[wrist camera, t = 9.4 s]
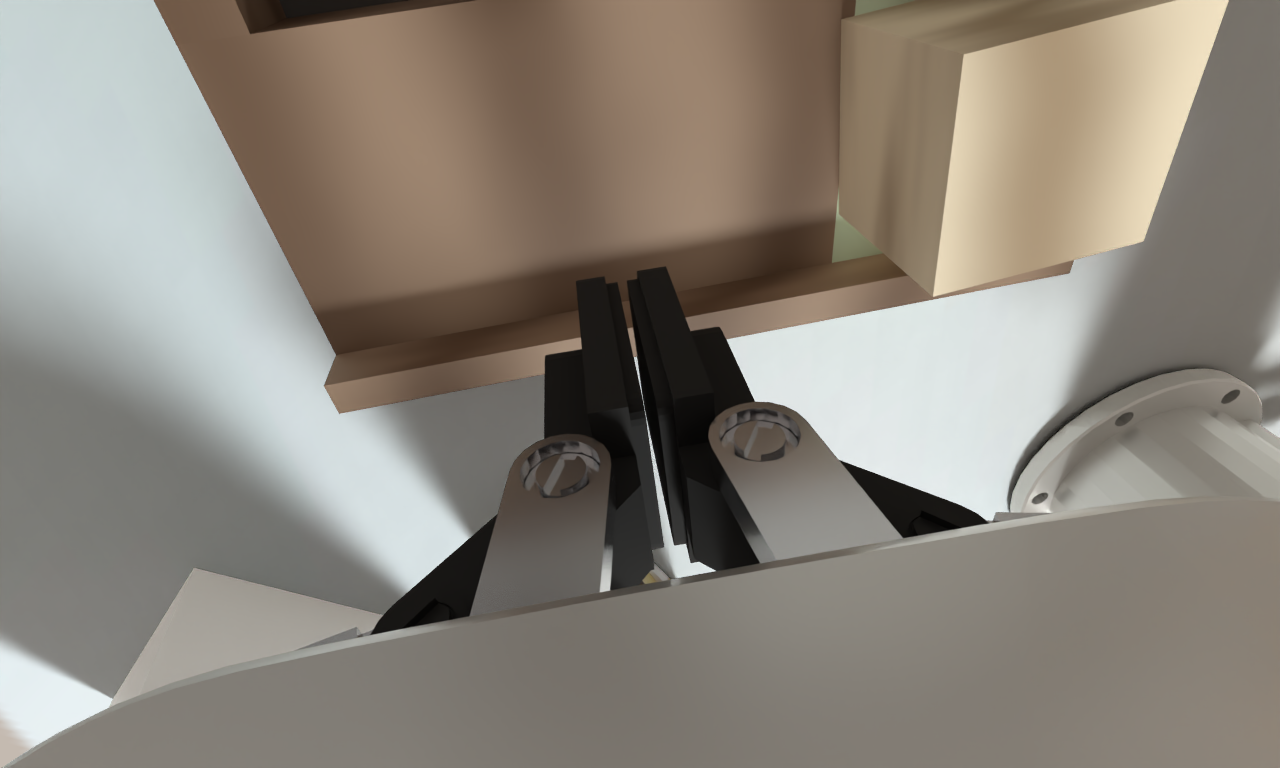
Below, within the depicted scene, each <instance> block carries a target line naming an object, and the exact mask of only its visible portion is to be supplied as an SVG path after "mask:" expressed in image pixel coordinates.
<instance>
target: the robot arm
mask: <svg viewBox="0 0 1280 768" xmlns="http://www.w3.org/2000/svg"><path fill="white" fill-rule="evenodd" d="M576 289H577V301H578V312H579V323H580V334H581V345H582V349H579V350H573V351H567V352H561V353H555V354H549V355H546V356H545V408H544V439H543V440H541V441H538V442H536V443H535V444H533V445H531V446H530V447H528V448H527V449H525V450H524V451H523V452H522V453H521V454H520V455H519V456H518V457H517V459H516V460H515V461H514V463H513V465H512V467H511V469H510V471H509V475H508V479H507V482H506V486H505V489H504V493H503V497H502V500H501V504H500V508H499V511H498V514H497V515H496V516H495V517H494V518H492V519H491V520H490V521H489V522H488V523H487V524H486V525H484V526H483V527H482V528H481V529H480V530H479V531H478V532H476V533H475V534H474V535H473V536H472V537H471V538H469V539H468V540H467V541H466V542H465V543H464V544H463V545H461V546H460V547H459V548H458V549H457V550H456V551H455V552H453V553H452V554H451V555H450V556H449V557H448V558H447V559H445V560H444V561H443V562H442V563H441V564H440V565H439V566H437V567H436V568H435V569H434V570H433V571H432V572H430V573H429V574H428V575H427V576H426V577H425V578H424V579H422V580H421V581H420V582H419V583H418V584H417V585H416V586H414V587H413V588H412V589H411V590H410V591H409V592H408V593H406V594H405V595H404V596H403V597H402V598H401V599H399V600H398V601H397V602H396V603H395V604H394V605H393V606H392V607H391V608H390V609H389V610H388V611H387V612H386V613H385V614H384V615H383V616H382V617H381V618H380V619H379V621H378V622H377V624H376V626H375V627H374V629H373V630H371V631H368V632H366V633H363V634H361V632H360V631H359V629H358V628H357V627H355V628H352V629H350V630H347V631H344V632H342V633H339V634H336V635H334V636H331V637H328V638H326V639H323V640H320V641H318V642H315V643H313V644H310V645H307V646H305V647H302V648H299V649H297V650H294V651H290V652H286V653H282V654H277V655H273V656H269V657H264V658H260V659H256V660H251V661H247V662H243V663H238V664H234V665H230V666H225V667H222V668H219V669H216V670H212V671H209V672H206V673H202V674H199V675H196V676H193V677H189V678H186V679H183V680H179V681H176V682H173V683H170V684H167V685H165V686H162V687H159V688H157V689H154V690H152V691H149V692H146V693H144V694H141V695H139V696H136V697H133V698H131V699H128V700H126V701H123V702H120V703H118V704H115V705H113V706H111V707H109V708H107V709H105V710H103V711H101V712H99V713H97V714H95V715H93V716H91V717H89V718H87V719H85V720H83V721H81V722H79V723H77V724H75V725H73V726H71V727H69V728H67V729H65V730H63V731H61V732H59V733H57V734H55V735H54V736H52V737H50V738H48V739H47V740H45V741H43V742H42V743H40V744H38V745H36V746H35V747H33V748H31V749H30V750H28V751H26V752H25V753H23V754H22V755H20V756H19V757H17V758H16V759H14V760H13V761H11V762H10V763H8V764H7V765H5V766H4V767H2V768H1280V438H1278V437H1277V436H1275V435H1274V434H1272V433H1271V432H1269V431H1268V430H1266V429H1265V428H1263V427H1262V426H1260V424H1261V421H1262V402H1261V400H1260V398H1259V396H1258V393H1257V392H1256V391H1255V390H1253V389H1252V388H1251V387H1250V386H1249V385H1247V384H1246V383H1244V382H1242V381H1241V380H1239V379H1238V378H1236V377H1234V376H1232V375H1230V374H1228V373H1226V372H1224V371H1219V370H1213V369H1208V368H1206V369H1186V370H1181V371H1176V372H1171V373H1166V374H1161V375H1158V376H1155V377H1152V378H1150V379H1147V380H1144V381H1141V382H1138V383H1135V384H1133V385H1131V386H1129V387H1127V388H1125V389H1123V390H1120V391H1118V392H1116V393H1114V394H1112V395H1110V396H1108V397H1107V398H1105V399H1103V400H1102V401H1100V402H1098V403H1097V404H1095V405H1093V406H1092V407H1090V408H1088V409H1087V410H1085V411H1084V412H1083V413H1081V414H1080V415H1078V416H1077V417H1076V418H1074V419H1073V420H1072V421H1070V422H1069V423H1067V424H1066V425H1065V426H1064V427H1063V428H1062V429H1060V430H1059V431H1058V432H1057V433H1056V434H1055V435H1054V436H1053V437H1052V438H1050V439H1049V440H1048V441H1047V442H1046V443H1045V444H1044V445H1043V447H1042V448H1041V449H1040V450H1039V451H1038V452H1037V453H1036V454H1035V456H1034V457H1033V458H1032V459H1031V460H1030V462H1029V463H1028V465H1027V466H1026V468H1025V469H1024V471H1023V472H1022V474H1021V475H1020V477H1019V479H1018V482H1017V484H1016V486H1015V488H1014V490H1013V494H1012V499H1011V504H1010V512H996V513H995V516H994V519H993V521H986V520H985V519H984V518H982V517H981V516H980V515H978V514H977V513H975V512H973V511H971V510H969V509H967V508H965V507H963V506H961V505H958V504H956V503H953V502H950V501H948V500H945V499H942V498H940V497H937V496H934V495H932V494H929V493H926V492H924V491H921V490H918V489H915V488H913V487H910V486H907V485H905V484H902V483H899V482H897V481H894V480H891V479H889V478H886V477H883V476H881V475H878V474H875V473H872V472H870V471H867V470H864V469H862V468H859V467H856V466H854V465H851V464H848V463H846V462H843V461H840V460H838V458H837V457H836V456H835V455H834V454H833V452H832V451H831V450H830V449H829V448H828V446H827V445H826V444H825V443H824V441H823V440H822V439H821V438H820V437H819V435H818V434H817V433H816V432H815V430H814V429H813V428H812V427H811V426H810V424H809V423H808V422H807V421H806V420H805V419H804V418H803V417H802V416H801V415H800V414H798V413H797V412H796V411H794V410H792V409H789V408H787V407H785V406H783V405H778V404H774V403H770V402H755V401H754V399H753V396H752V394H751V392H750V390H749V388H748V386H747V383H746V381H745V379H744V377H743V375H742V373H741V370H740V368H739V366H738V364H737V362H736V360H735V357H734V355H733V353H732V351H731V349H730V347H729V344H728V342H727V340H726V338H725V336H724V334H723V331H722V330H721V328H720V327H712V328H706V329H700V330H694V331H690V328H689V326H688V323H687V321H686V318H685V315H684V313H683V310H682V307H681V305H680V302H679V299H678V297H677V294H676V291H675V289H674V286H673V284H672V281H671V278H670V276H669V273H668V270H667V268H666V266H664V267H658V268H652V269H646V270H639V271H637V279H633V280H627V289H628V296H629V303H630V310H631V317H632V324H633V331H634V338H635V345H636V352H637V359H638V366H639V373H640V380H641V387H642V394H643V399H642V394H641V389H640V385H639V380H638V375H637V371H636V366H635V361H634V357H633V352H632V347H631V343H630V338H629V333H628V329H627V324H626V319H625V315H624V310H623V305H622V301H621V296H620V291H619V287H618V282H614V283H608V284H606V281H605V276H602V277H596V278H590V279H584V280H578V281H576ZM643 401H644V405H643ZM644 407H645V411H644ZM645 412H646V417H647V421H648V426H649V431H650V435H651V440H652V445H653V449H654V454H655V459H656V463H657V468H658V473H659V477H660V482H661V487H662V491H663V496H664V501H665V505H666V510H667V515H668V519H669V524H670V529H671V533H672V538H673V542H674V545H680V544H686V545H687V549H688V554H689V558H690V562H691V563H694V562H701V563H703V564H705V565H706V566H708V567H710V568H712V569H714V570H716V571H715V572H710V573H704V574H698V575H693V576H687V577H682V578H676V579H671V580H665V581H660V582H654V583H649V584H643V585H639V584H640V583H641V581H642V580H643V579H644V578H645V577H646V576H647V574H648V573H649V572H650V571H651V570H654V561H653V555H652V549H658V548H663V547H664V543H663V536H662V529H661V522H660V515H659V507H658V500H657V493H656V486H655V479H654V472H653V465H652V458H651V451H650V444H649V437H648V430H647V423H646V417H645Z"/></svg>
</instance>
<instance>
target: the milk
mask: <svg viewBox="0 0 1280 768" xmlns="http://www.w3.org/2000/svg"><path fill="white" fill-rule="evenodd" d="M382 616H383V615H381V614H377V613H373V612H369V611H365V610H361V609H357V608H353V607H349V606H345V605H341V604H337V603H333V602H329V601H325V600H321V599H317V598H313V597H309V596H305V595H301V594H297V593H293V592H289V591H285V590H281V589H277V588H273V587H269V586H265V585H261V584H257V583H253V582H249V581H245V580H241V579H237V578H233V577H229V576H225V575H221V574H217V573H213V572H209V571H205V570H201V569H197V568H193V570H192V572H191V573H190V575H189V576H188V578H187V580H186V581H185V583H184V584H183V586H182V588H181V589H180V591H179V593H178V594H177V596H176V597H175V599H174V601H173V602H172V604H171V606H170V607H169V609H168V610H167V612H166V614H165V615H164V617H163V618H162V620H161V622H160V623H159V625H158V627H157V628H156V630H155V631H154V633H153V635H152V636H151V638H150V640H149V641H148V643H147V644H146V646H145V648H144V649H143V651H142V652H141V654H140V656H139V657H138V659H137V661H136V662H135V664H134V665H133V667H132V669H131V670H130V672H129V674H128V675H127V677H126V678H125V680H124V682H123V683H122V685H121V686H120V688H119V690H118V691H117V693H116V695H115V696H114V698H113V700H112V702H111V704H110V706H109V707H111V706H113V705H115V704H118V703H120V702H123V701H126V700H128V699H131V698H133V697H136V696H139V695H141V694H144V693H146V692H149V691H152V690H154V689H157V688H159V687H162V686H165V685H167V684H170V683H173V682H176V681H179V680H183V679H186V678H189V677H193V676H196V675H199V674H202V673H206V672H209V671H212V670H216V669H219V668H222V667H225V666H230V665H234V664H238V663H243V662H247V661H251V660H256V659H260V658H264V657H269V656H273V655H277V654H282V653H286V652H290V651H294V650H297V649H299V648H302V647H305V646H307V645H310V644H313V643H315V642H318V641H320V640H323V639H326V638H328V637H331V636H334V635H336V634H339V633H342V632H344V631H347V630H350V629H352V628H355V627H357V628H358V629H359V631H360V632H361V634H363V633H366V632H368V631H371V630H373V629H374V627H375V626H376V624H377V622H378V621H379V619H380V618H381V617H382Z"/></svg>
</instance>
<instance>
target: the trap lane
mask: <svg viewBox="0 0 1280 768" xmlns="http://www.w3.org/2000/svg"><path fill="white" fill-rule="evenodd" d="M912 1H916V0H154V2H155V4H156V6H157V8H158V10H159V12H160V13H161V15H162V17H163V19H164V21H165V23H166V25H167V27H168V29H169V31H170V33H171V35H172V37H173V39H174V41H175V43H176V45H177V46H178V48H179V50H180V52H181V54H182V56H183V58H184V60H185V62H186V64H187V66H188V68H189V70H190V72H191V74H192V76H193V78H194V80H195V81H196V83H197V85H198V87H199V89H200V91H201V93H202V95H203V97H204V99H205V101H206V103H207V105H208V107H209V109H210V111H211V113H212V115H213V116H214V118H215V120H216V122H217V124H218V126H219V128H220V130H221V132H222V134H223V136H224V138H225V140H226V142H227V144H228V146H229V148H230V149H231V151H232V153H233V155H234V157H235V159H236V161H237V163H238V165H239V167H240V169H241V171H242V173H243V175H244V177H245V179H246V181H247V183H248V184H249V186H250V188H251V190H252V192H253V194H254V196H255V198H256V200H257V202H258V204H259V206H260V208H261V210H262V212H263V214H264V216H265V218H266V219H267V221H268V223H269V225H270V227H271V229H272V231H273V233H274V235H275V237H276V239H277V241H278V243H279V245H280V247H281V249H282V251H283V252H284V254H285V256H286V258H287V260H288V262H289V264H290V266H291V268H292V270H293V272H294V274H295V276H296V278H297V280H298V282H299V284H300V286H301V287H302V289H303V291H304V293H305V295H306V297H307V299H308V301H309V303H310V305H311V307H312V309H313V311H314V313H315V315H316V317H317V319H318V321H319V322H320V324H321V326H322V328H323V330H324V332H325V334H326V336H327V338H328V340H329V342H330V344H331V346H332V348H333V350H334V352H335V354H336V357H335V359H334V362H333V365H332V367H331V370H330V372H329V375H328V377H327V380H326V382H325V385H324V387H325V389H326V390H327V392H328V394H329V396H330V398H331V400H332V401H333V403H334V405H335V407H336V409H337V410H338V412H339V414H340V413H345V412H351V411H356V410H361V409H366V408H371V407H377V406H382V405H387V404H392V403H397V402H403V401H408V400H413V399H418V398H423V397H429V396H434V395H439V394H444V393H449V392H455V391H460V390H465V389H470V388H475V387H481V386H486V385H491V384H496V383H501V382H507V381H512V380H517V379H522V378H527V377H533V376H538V375H543V374H545V356H546V355H549V354H555V353H561V352H567V351H573V350H579V349H582V345H581V334H580V323H579V312H578V301H577V289H576V281H578V280H584V279H590V278H596V277H602V276H605V281H606V284H608V283H614V282H618V287H619V291H620V296H621V301H622V305H623V310H624V315H625V319H626V324H627V329H628V333H629V338H630V343H631V347H632V352H633V357H637V352H636V345H635V338H634V331H633V324H632V317H631V310H630V303H629V296H628V289H627V280H633V279H637V271H639V270H646V269H652V268H658V267H664V266H666V268H667V270H668V273H669V276H670V278H671V281H672V284H673V286H674V289H675V291H676V294H677V297H678V299H679V302H680V305H681V307H682V310H683V313H684V315H685V318H686V321H687V323H688V326H689V328H690V331H694V330H700V329H706V328H712V327H720V328H721V330H722V331H723V334H724V336H725V338H726V339H730V338H735V337H741V336H746V335H751V334H756V333H761V332H767V331H772V330H777V329H782V328H787V327H793V326H798V325H803V324H808V323H813V322H819V321H824V320H829V319H834V318H839V317H845V316H850V315H855V314H860V313H865V312H871V311H876V310H881V309H886V308H891V307H897V306H902V305H907V304H912V303H917V302H923V301H928V300H933V299H938V298H943V297H949V296H954V295H959V294H964V293H969V292H975V291H980V290H985V289H990V288H995V287H1001V286H1006V285H1011V284H1016V283H1021V282H1027V281H1032V280H1037V279H1042V278H1047V277H1053V276H1058V275H1063V274H1068V273H1070V270H1071V267H1072V265H1073V262H1074V260H1072V261H1068V262H1064V263H1060V264H1056V265H1053V266H1049V267H1045V268H1041V269H1037V270H1034V271H1030V272H1026V273H1022V274H1018V275H1015V276H1011V277H1007V278H1003V279H999V280H996V281H992V282H988V283H984V284H980V285H977V286H973V287H969V288H965V289H961V290H957V291H954V292H950V293H946V294H942V295H938V296H935V297H932V296H931V295H930V294H929V293H928V292H927V291H926V290H925V289H923V288H922V287H921V286H920V285H919V284H918V283H917V282H915V281H914V280H913V279H912V278H911V277H910V276H909V275H907V274H906V273H905V272H904V271H903V270H902V269H901V268H899V267H898V266H897V265H896V264H895V263H894V262H893V261H891V260H890V259H889V258H888V257H887V256H886V255H885V254H884V253H882V252H881V251H880V250H879V249H878V248H877V247H876V246H874V245H873V244H872V243H871V242H870V241H869V240H868V239H866V238H865V237H864V236H863V235H862V234H861V233H860V232H858V231H857V230H856V229H855V228H854V227H853V226H852V225H851V224H849V223H848V222H847V221H846V220H845V219H844V218H843V217H841V216H840V215H839V151H840V76H841V19H845V18H849V17H852V16H856V15H860V14H864V13H868V12H872V11H876V10H880V9H884V8H888V7H892V6H896V5H900V4H904V3H908V2H912Z"/></svg>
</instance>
